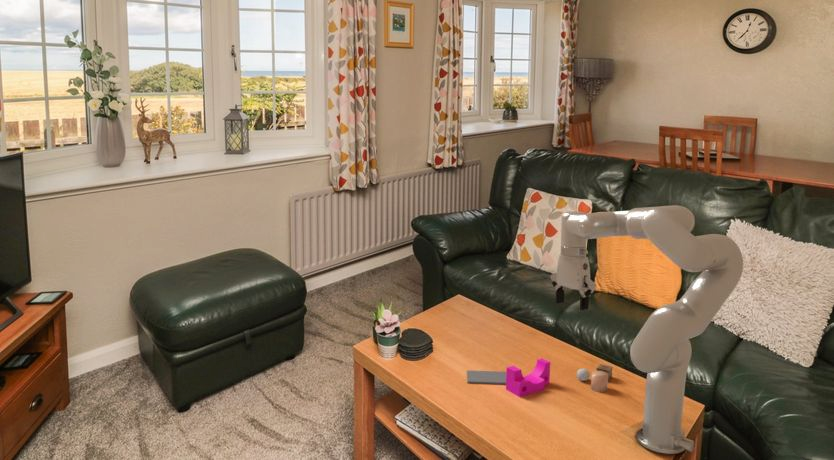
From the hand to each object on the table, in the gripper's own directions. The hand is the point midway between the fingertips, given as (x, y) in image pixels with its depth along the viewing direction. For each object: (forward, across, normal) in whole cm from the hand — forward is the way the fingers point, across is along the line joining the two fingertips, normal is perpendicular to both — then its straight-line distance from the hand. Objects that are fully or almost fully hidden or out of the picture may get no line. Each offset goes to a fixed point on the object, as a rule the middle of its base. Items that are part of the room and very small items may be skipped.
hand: (571, 305), depth 180 cm
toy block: (+27, +6, +11) cm, 29 cm away
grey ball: (+26, +1, -8) cm, 28 cm away
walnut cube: (+27, -1, -15) cm, 31 cm away
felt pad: (+26, +18, +16) cm, 35 cm away
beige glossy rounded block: (+27, -6, -7) cm, 28 cm away
